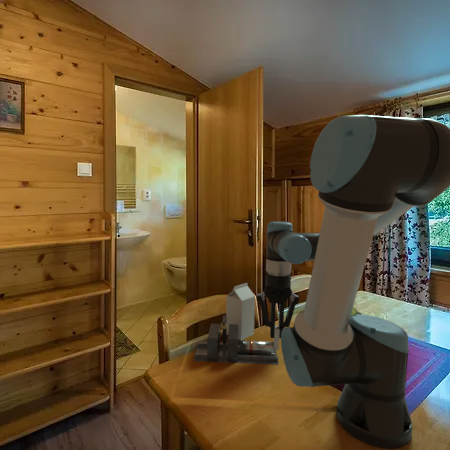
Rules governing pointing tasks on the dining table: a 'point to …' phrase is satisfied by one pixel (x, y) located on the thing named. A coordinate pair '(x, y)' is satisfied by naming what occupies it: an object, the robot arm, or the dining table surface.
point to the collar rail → (228, 348)
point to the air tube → (255, 347)
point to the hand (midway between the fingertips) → (276, 347)
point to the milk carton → (241, 310)
